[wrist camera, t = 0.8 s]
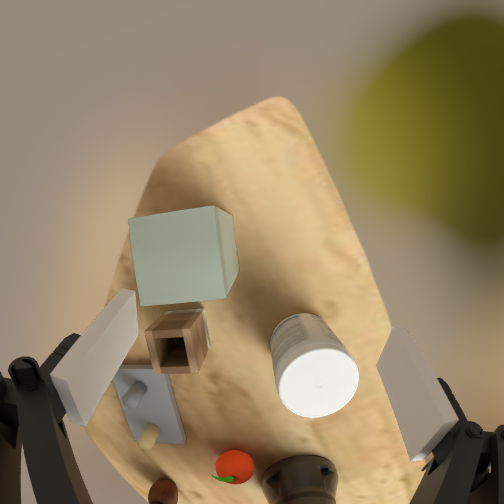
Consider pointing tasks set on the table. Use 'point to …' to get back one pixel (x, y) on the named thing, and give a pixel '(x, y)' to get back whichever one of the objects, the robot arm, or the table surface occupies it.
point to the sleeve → (170, 348)
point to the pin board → (149, 405)
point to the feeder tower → (184, 255)
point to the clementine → (234, 467)
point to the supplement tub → (311, 366)
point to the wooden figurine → (163, 492)
